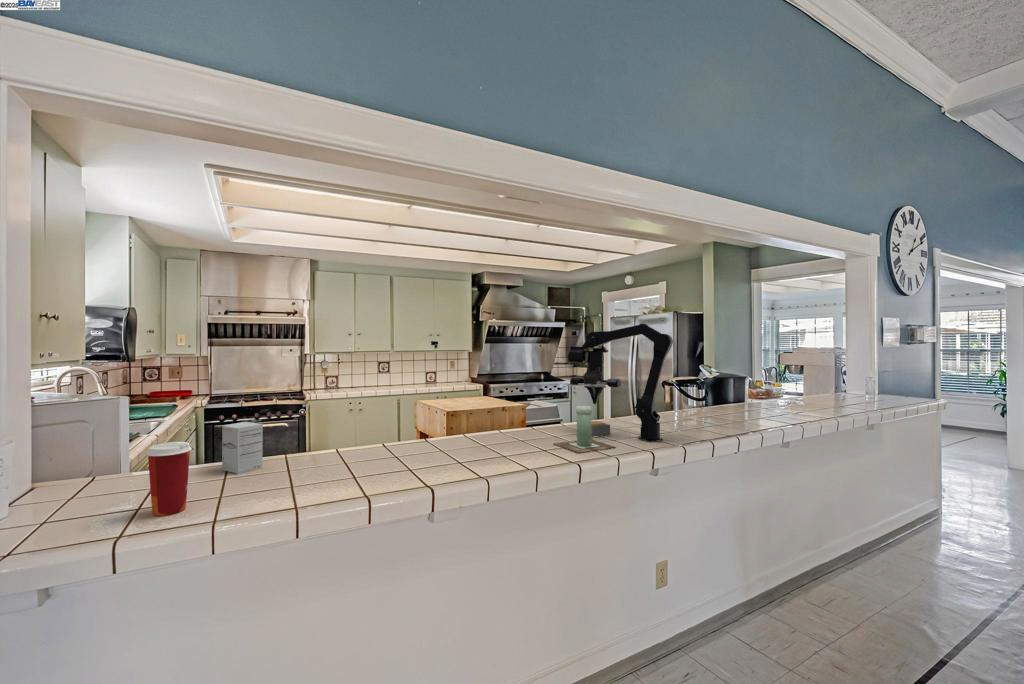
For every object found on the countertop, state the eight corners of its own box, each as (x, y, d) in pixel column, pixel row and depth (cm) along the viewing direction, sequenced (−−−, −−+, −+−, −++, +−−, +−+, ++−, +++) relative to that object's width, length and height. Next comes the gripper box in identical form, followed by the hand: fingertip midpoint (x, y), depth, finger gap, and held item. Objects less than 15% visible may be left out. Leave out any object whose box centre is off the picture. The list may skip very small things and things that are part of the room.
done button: (596, 426, 178) (596, 420, 178) (604, 429, 173) (604, 423, 173) (585, 428, 175) (585, 421, 175) (594, 430, 170) (594, 424, 170)
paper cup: (200, 504, 98) (200, 441, 98) (171, 518, 91) (171, 450, 91) (166, 503, 99) (166, 440, 99) (135, 517, 91) (135, 449, 91)
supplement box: (221, 470, 124) (221, 425, 123) (247, 464, 130) (247, 420, 130) (237, 474, 120) (237, 427, 120) (263, 467, 127) (263, 423, 127)
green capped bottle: (582, 442, 158) (582, 405, 158) (594, 444, 154) (594, 406, 154) (573, 444, 154) (573, 406, 154) (586, 446, 150) (585, 408, 151)
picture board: (590, 439, 164) (590, 438, 164) (615, 448, 152) (615, 446, 152) (553, 444, 156) (553, 443, 156) (577, 453, 144) (577, 452, 144)
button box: (596, 431, 179) (596, 421, 179) (609, 435, 172) (610, 424, 172) (580, 433, 176) (580, 422, 176) (593, 437, 169) (593, 426, 169)
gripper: (565, 364, 171) (565, 404, 171) (614, 365, 162) (613, 408, 163) (574, 362, 181) (574, 401, 181) (621, 364, 172) (620, 404, 173)
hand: (594, 404), depth 174 cm, fingers closed
